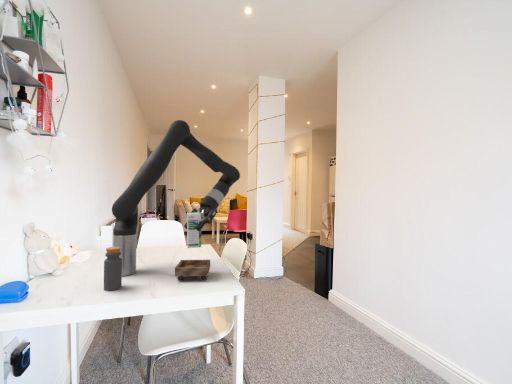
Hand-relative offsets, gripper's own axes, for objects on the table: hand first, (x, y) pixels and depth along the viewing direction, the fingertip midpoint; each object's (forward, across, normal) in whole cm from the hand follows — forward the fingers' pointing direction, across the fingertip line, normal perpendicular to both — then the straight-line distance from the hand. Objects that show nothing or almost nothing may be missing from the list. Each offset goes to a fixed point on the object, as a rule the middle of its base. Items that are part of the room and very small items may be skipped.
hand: (191, 228), depth 109 cm
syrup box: (+5, 0, +6) cm, 8 cm away
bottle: (+33, -12, -4) cm, 36 cm away
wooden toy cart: (+14, 0, +16) cm, 21 cm away
